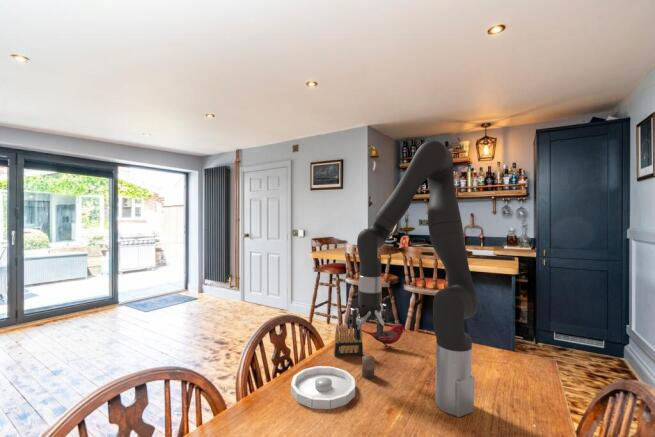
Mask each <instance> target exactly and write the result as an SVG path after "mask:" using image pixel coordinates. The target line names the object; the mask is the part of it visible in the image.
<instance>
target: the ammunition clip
mask: <svg viewBox="0 0 655 437" xmlns="http://www.w3.org/2000/svg"><path fill="white" fill-rule="evenodd" d="M339 328H340V329H339ZM360 329H361V335H360V340H359V341H358V340H356V339H355V338H354V328H352V327H350V326H349V324H348V323H346V324H345V329H344V325H343V323H341V325H340V327H339V324H338V323H337V324H336V325H335V334H334V349H333V350H334V351H333V352H334V354H333V355H334V357H336V358H337V357H339V358H340V357H359V356H360V357H363V356H364V351H363V350H364V349H363V347H364V346H363V344H364V343H363V331H362V330H363V325H362V326H361V328H360Z"/></svg>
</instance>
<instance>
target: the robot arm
mask: <svg viewBox="0 0 655 437" xmlns="http://www.w3.org/2000/svg"><path fill="white" fill-rule="evenodd" d="M413 155H414V156H413V157H412V159H411V161H410V162H409V165H408V166H407V168H406V169H405V172H404V174H403V176H402V177H401V179H400V180H399V182H398V184H396V187H395V188H394V190H393V191H392V192H391V194H390V195H389V197H388V198H387V199H386V201H385V202H384V203H383V205H382V206H381V207H380V209H379V210H378V212H377V213H376V215H375V221H374V222H373V223H372V225H371V226H370V228H364V229H363V230H361V231H360V232H359V233H358V236H357V238H356V239H357V240H356V247H357V248H356V249H357V254H358V258H359V276H358V288H357V289H358V290H357V292H358V293H357V294H358V295H357V298H358V299H357V300H358V301H357V302H358V306H357V308H353V307H350V308H349V314H348V327H349V328H350V327H352V328H353V339H354V338H355V339H356V340H358V341H359V340H360V335H361V329H360V328H361V326H362V327H363V325H364V324H365V323H366V322H369V321H376V331H377V335H378V336H382V334H383V329H384V326H385V324H387V323H389V321H390V314H389V312H390V311H389V307H390V306H389V305H388V304H386V303H382V289H383V288H382V286H383V285H382V284H383V283H382V281H383V280H382V260H381V259H380V258H379V254H378V249H380V248H381V247H382V246H383V245H384V244H385V243H386V241H387V240H388V238H389V236H390V235H391V234H392V231H393V229H394V228H395V227H396V226H397V224H399V222H400V221H401V220H402V219H403V217H404V215H405V214H406V213H407V211H408V210H409V209H410V207H411V204H412V202H413V200H414V197H415V196H416V194H417V192H418V190H419V189H420V187H421V186H422V185H423V184H424V182H426V180H427V186H428V190H429V202H428V209H427V228H428V231H429V232H428V233H429V240H430V243H431V246H432V248H433V250H434V251H435V253H436V255H437V256H438V258H439V259H440V261H441V263H442V265H443V267H444V272H445V274H446V280H447V282H446V283H447V287H446V288H442V289H440V290H438V291H437V292H436V293H435V295H434V298H433V303H432V311H433V312H432V318H433V320H432V322H433V324H432V326H433V332H434V335H435V338H436V344H435V346H436V348H435V350H436V351H435V390H434V392H435V395H434V396H435V397H434V399H435V400H434V401H435V405H436V406H437V408H438V409H439V410H440V411H443V412H445V413H446V414H449V415H451V416H452V415H453V416H455V417H457V418H461V417H463V416H465V415H468V414H470V413H471V414H472V413H474V411H475V410H474V409H475V408H474V407H475V406H474V405H475V377H474V376H473V375H472V354H473V352H472V350H473V349H472V348H473V339H472V336H471V335H470V334H468V333H467V332H465V331H466V330H465V320H468V319H471V318H472V317H473V316H475V315H476V313H477V311H478V306H479V305H478V304H479V303H478V301H479V300H478V296H477V293H476V288H475V285H474V281H473V277H472V275H471V269H470V266H469V265H470V264H469V259H468V254H467V248H466V243H465V242H466V241H465V235H464V234H465V233H464V228H463V221H462V215H461V212H460V207H459V206H460V205H459V201H458V198H457V193H456V190H455V189H456V188H455V180H454V157H453V155H452V151H451V150H450V149H449V148H448V147H447V146H445V144H443V143H442V142H441V141H439V140H433V139H432V140H431V139H430V140H427V141H425V142H424V143H422V144H421V145H420V146H419V147H418V149H416V152H415V153H414V154H413ZM380 312H381V314H380Z"/></svg>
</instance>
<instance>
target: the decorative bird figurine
mask: <svg viewBox="0 0 655 437" xmlns="http://www.w3.org/2000/svg"><path fill="white" fill-rule="evenodd" d="M404 331H407V329H406V328H405V327H404V325H403V324H402V323H396V324H394V325H392V326H391V327H389V328H385V329H384V328H383V334H382V336H378V335H377V330H376V331H374V332H372V331H368V330H364V329H362V333H366V334H368V335H369V336H371V337H372V338H373V339H375V341H377V342H380V343H382V344H383V345H382V346H381V347H383V348H387V349H393V348H396V347H395V346H391V344H392V345H393V344H394V343H396V342H398V341H399V340H400V338H401V336H402V335H403V333H404Z"/></svg>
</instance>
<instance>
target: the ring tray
mask: <svg viewBox="0 0 655 437" xmlns="http://www.w3.org/2000/svg"><path fill="white" fill-rule="evenodd" d="M290 394H291V396H292V397H293V398H294V400H295V401H296V402H297V403H298V404H300V405H303V406H305V407H307V408H309V409H312V410H313V409H319V410H333V409H336V408H339V407H343V406H346V405H347V404H349V402H351V400H353V398H354V397H356V380H355V377H353V375H351V374H350V373H349V372H348V371H347V370H345V369H342V368H337V367H336V366H327V365H325V366H324V365H318V366H312V367H309V368H308V367H307V368H304V369H301V370H300V371H299V372H298V373H296V374H294V375H293V376H292V380H291V382H290Z"/></svg>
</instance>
